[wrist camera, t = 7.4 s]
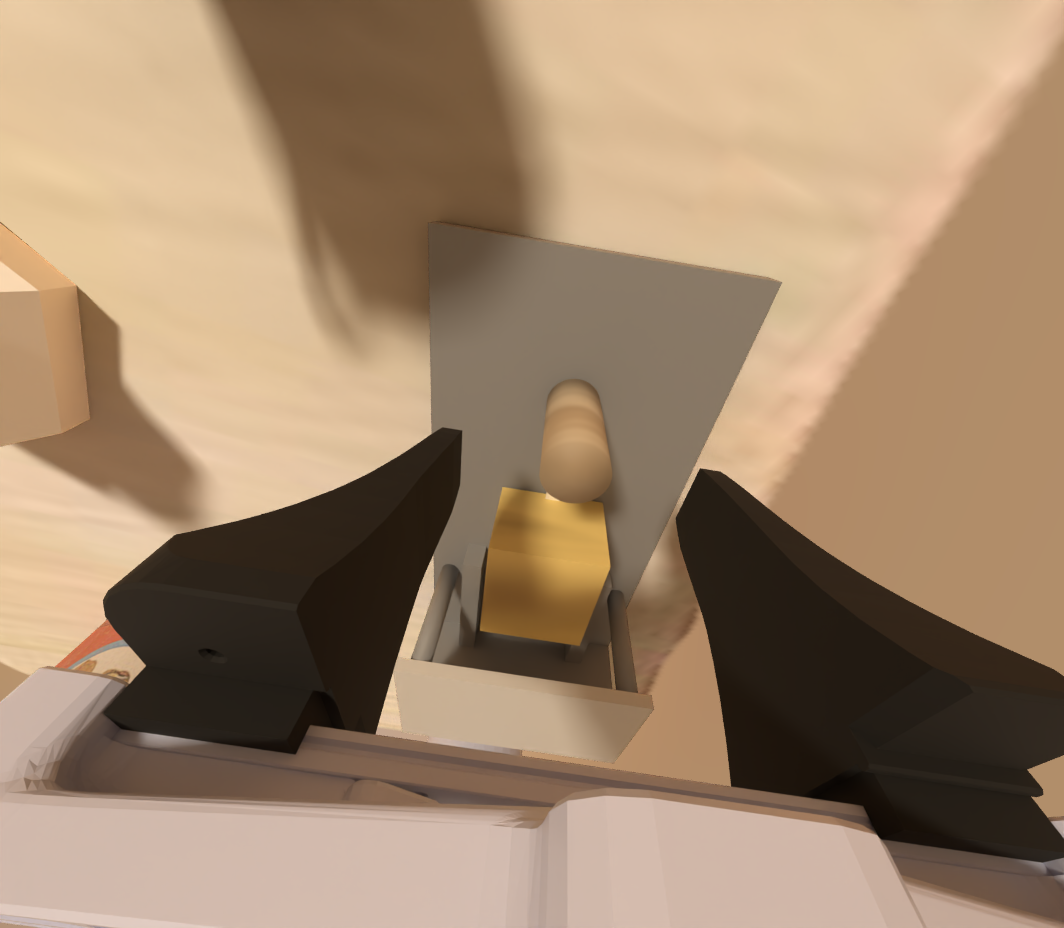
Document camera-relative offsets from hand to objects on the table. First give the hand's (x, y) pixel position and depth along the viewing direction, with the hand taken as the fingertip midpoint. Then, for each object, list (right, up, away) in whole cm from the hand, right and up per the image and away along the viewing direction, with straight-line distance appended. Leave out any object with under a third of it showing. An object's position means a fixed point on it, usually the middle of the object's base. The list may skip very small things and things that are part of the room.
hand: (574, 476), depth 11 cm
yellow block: (0, -1, +7) cm, 7 cm away
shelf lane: (0, -2, +9) cm, 9 cm away
